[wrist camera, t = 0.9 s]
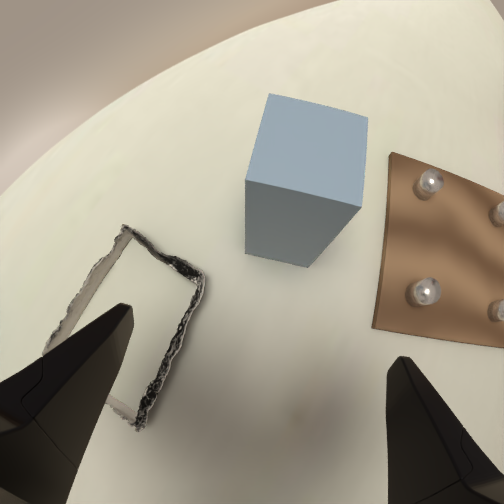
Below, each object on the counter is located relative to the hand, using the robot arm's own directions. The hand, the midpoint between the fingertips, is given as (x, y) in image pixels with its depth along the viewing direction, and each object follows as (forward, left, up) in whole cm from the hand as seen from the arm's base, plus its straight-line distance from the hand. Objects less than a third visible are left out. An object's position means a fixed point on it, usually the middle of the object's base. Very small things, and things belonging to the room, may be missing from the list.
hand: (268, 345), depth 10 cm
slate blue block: (+7, -6, -14) cm, 17 cm away
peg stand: (-2, -20, -14) cm, 24 cm away
